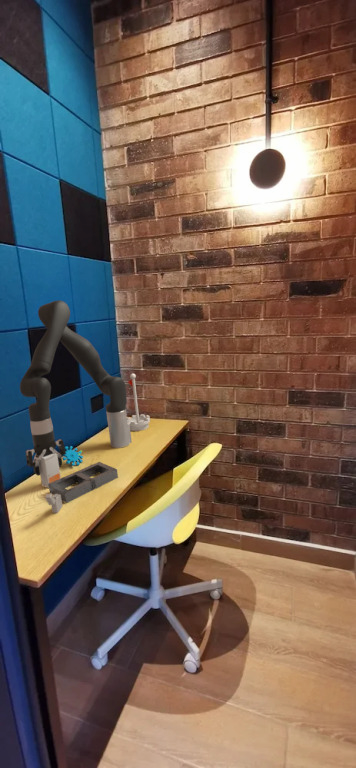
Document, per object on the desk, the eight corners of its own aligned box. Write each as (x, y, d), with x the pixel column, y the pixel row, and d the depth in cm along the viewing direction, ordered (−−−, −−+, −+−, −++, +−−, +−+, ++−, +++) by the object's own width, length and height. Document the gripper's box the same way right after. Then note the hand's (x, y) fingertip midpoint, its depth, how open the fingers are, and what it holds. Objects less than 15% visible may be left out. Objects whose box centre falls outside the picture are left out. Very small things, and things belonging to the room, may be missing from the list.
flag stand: (155, 425, 191) (150, 372, 185) (137, 433, 182) (131, 376, 176) (139, 422, 200) (133, 370, 194) (121, 429, 191) (115, 375, 184)
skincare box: (49, 488, 131) (43, 458, 128) (41, 486, 133) (36, 456, 131) (62, 481, 136) (57, 452, 133) (54, 478, 138) (50, 450, 136)
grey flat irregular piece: (57, 506, 118) (54, 484, 117) (62, 505, 118) (59, 484, 116) (48, 518, 111) (44, 495, 110) (53, 518, 111) (49, 495, 110)
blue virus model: (70, 467, 144) (57, 448, 147) (63, 475, 146) (51, 456, 149) (89, 459, 154) (77, 442, 156) (83, 467, 156) (70, 450, 159)
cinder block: (100, 469, 143) (99, 461, 142) (118, 477, 135) (117, 469, 134) (49, 492, 128) (48, 483, 127) (66, 503, 120) (65, 493, 119)
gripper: (55, 423, 138) (61, 461, 141) (18, 434, 128) (26, 475, 131) (64, 426, 133) (70, 466, 136) (27, 438, 123) (35, 480, 126)
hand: (48, 470), depth 133 cm, fingers open, 8 cm apart
